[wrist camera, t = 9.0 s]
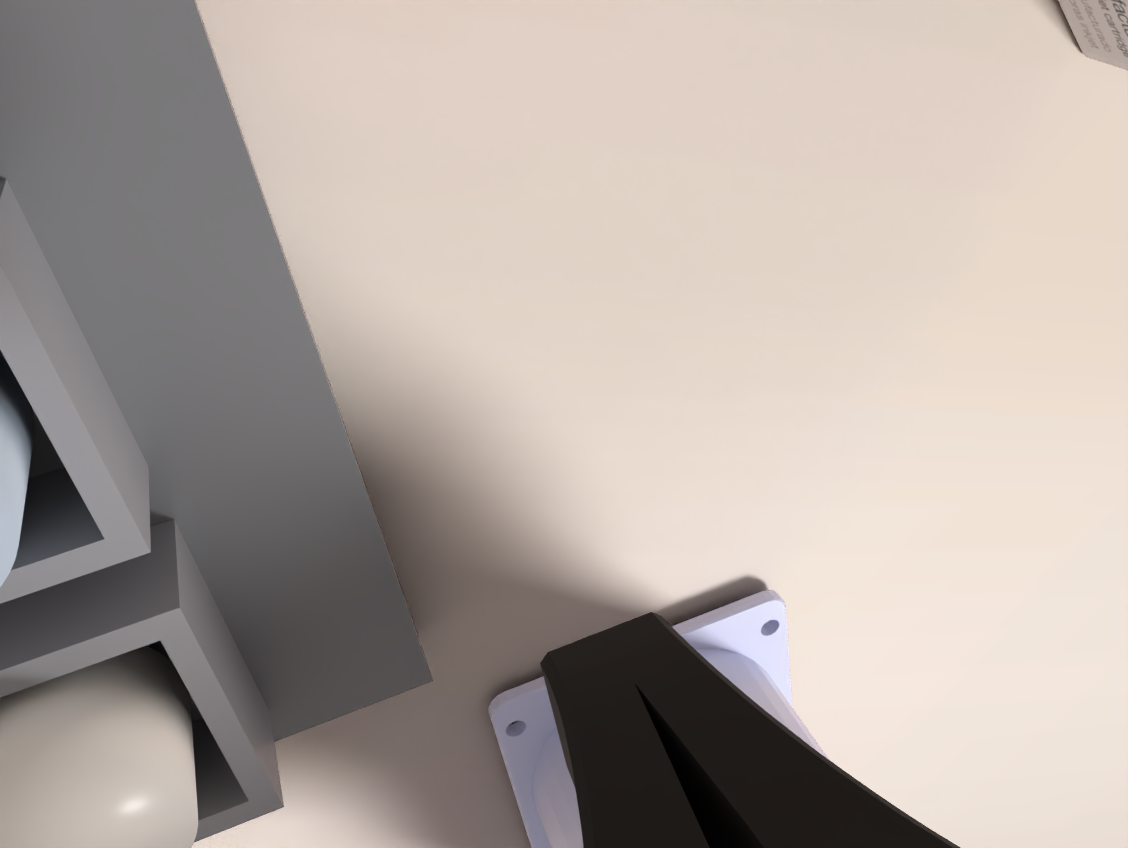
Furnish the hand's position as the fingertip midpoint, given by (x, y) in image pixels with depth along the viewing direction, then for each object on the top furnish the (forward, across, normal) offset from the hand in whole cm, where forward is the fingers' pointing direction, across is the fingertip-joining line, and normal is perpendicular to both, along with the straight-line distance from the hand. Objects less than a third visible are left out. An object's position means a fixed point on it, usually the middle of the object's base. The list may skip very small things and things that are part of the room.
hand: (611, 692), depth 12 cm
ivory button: (+8, +8, +5) cm, 12 cm away
